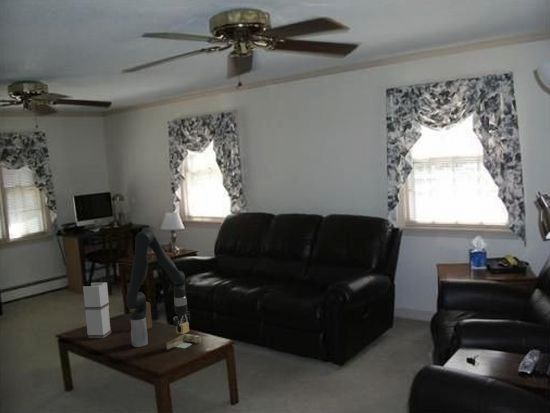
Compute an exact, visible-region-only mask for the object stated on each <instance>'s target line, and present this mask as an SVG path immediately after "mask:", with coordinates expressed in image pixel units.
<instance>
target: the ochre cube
mask: <svg viewBox="0 0 550 413" xmlns="http://www.w3.org/2000/svg"><path fill="white" fill-rule="evenodd" d="M189 326H190V321H188V322H184V321H182V323H181V332H178V331H177V326H175V330H176V334H181V335H183V334H187V333H188V332H190V327H189Z"/></svg>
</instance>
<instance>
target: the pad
mask: <svg viewBox="0 0 550 413" xmlns="http://www.w3.org/2000/svg"><path fill="white" fill-rule="evenodd" d="M192 345H193V343H191V342H185V341H184V342H183V343H181V344H179V345H177V346H175V347H174V348H180V349H186V348H189V347H190V346H192Z"/></svg>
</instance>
